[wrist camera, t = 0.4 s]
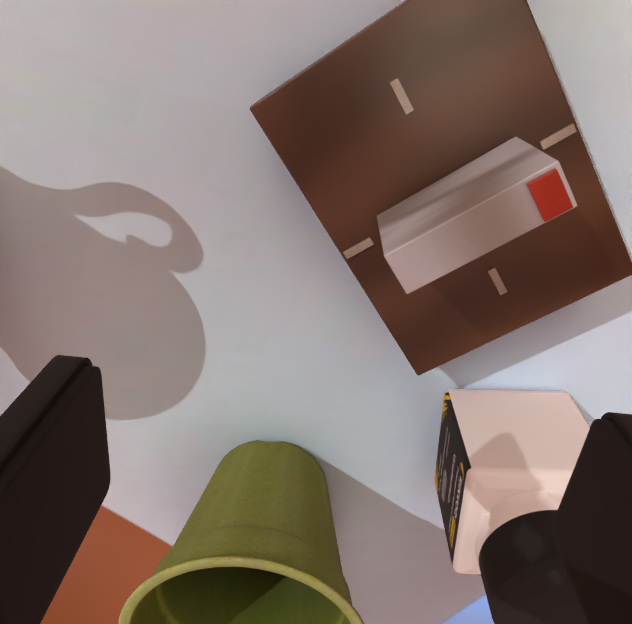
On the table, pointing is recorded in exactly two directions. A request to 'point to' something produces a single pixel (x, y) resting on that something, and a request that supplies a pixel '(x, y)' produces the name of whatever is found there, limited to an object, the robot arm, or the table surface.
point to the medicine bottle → (510, 497)
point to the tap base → (443, 165)
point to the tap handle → (472, 212)
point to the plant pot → (252, 549)
